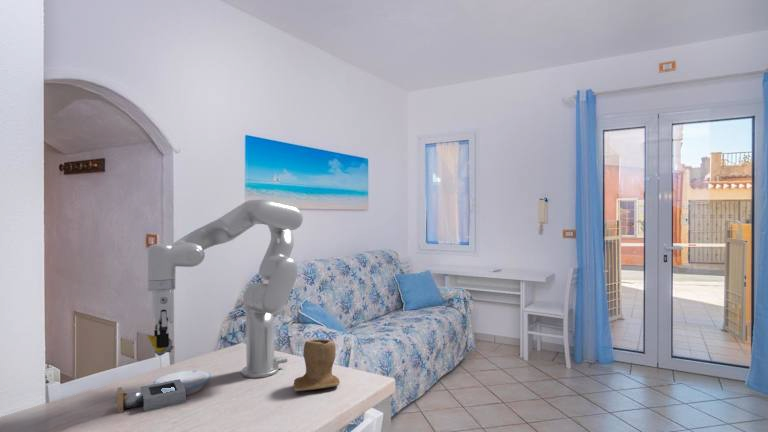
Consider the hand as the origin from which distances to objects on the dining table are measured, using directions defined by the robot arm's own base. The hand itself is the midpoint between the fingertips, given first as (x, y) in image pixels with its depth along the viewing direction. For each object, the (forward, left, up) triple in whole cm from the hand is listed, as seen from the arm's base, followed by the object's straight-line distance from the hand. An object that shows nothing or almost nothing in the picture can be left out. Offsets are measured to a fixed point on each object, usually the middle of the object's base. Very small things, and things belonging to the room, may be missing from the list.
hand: (161, 344), depth 132 cm
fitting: (+3, 0, -17) cm, 17 cm away
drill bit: (0, +1, -3) cm, 3 cm away
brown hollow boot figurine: (-43, +16, -17) cm, 49 cm away
